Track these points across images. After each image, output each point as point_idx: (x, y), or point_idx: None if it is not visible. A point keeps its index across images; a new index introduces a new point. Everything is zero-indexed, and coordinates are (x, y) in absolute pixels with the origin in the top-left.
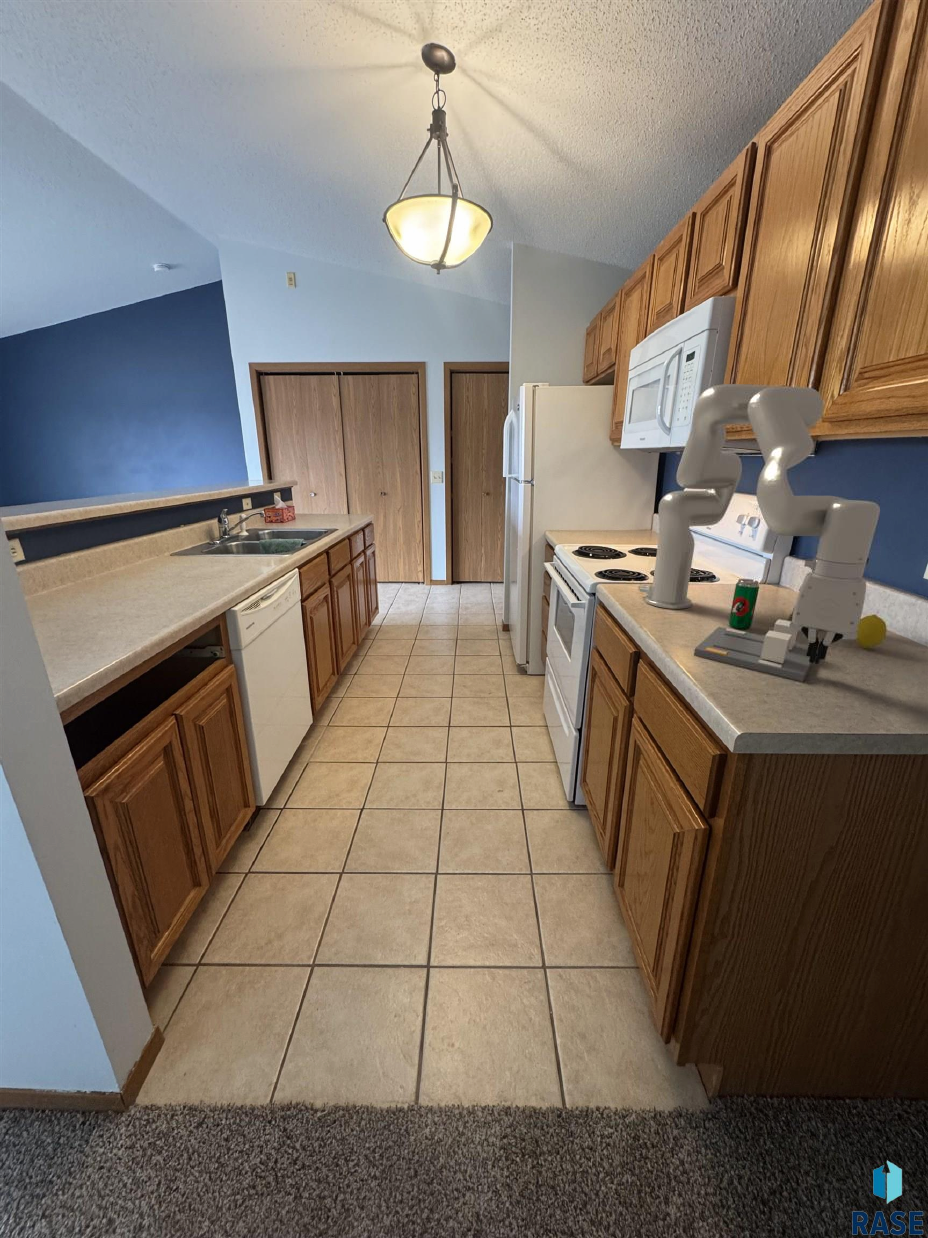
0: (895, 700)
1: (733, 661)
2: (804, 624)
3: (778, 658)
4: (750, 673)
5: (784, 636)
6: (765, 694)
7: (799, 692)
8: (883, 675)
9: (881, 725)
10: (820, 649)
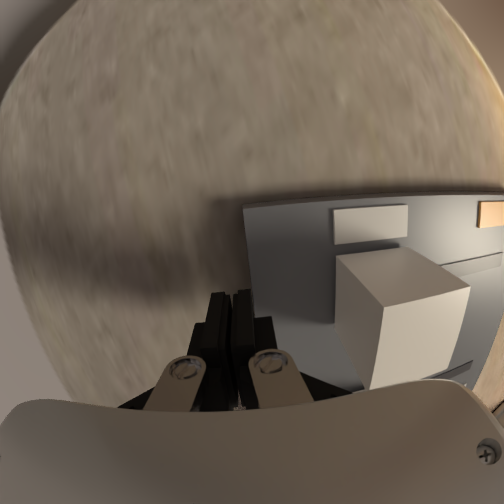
0: (39, 271)
1: (453, 192)
2: (379, 399)
3: (361, 259)
4: (396, 151)
5: (399, 350)
6: (303, 12)
7: (225, 95)
8: (118, 405)
9: (33, 80)
10: (211, 330)
